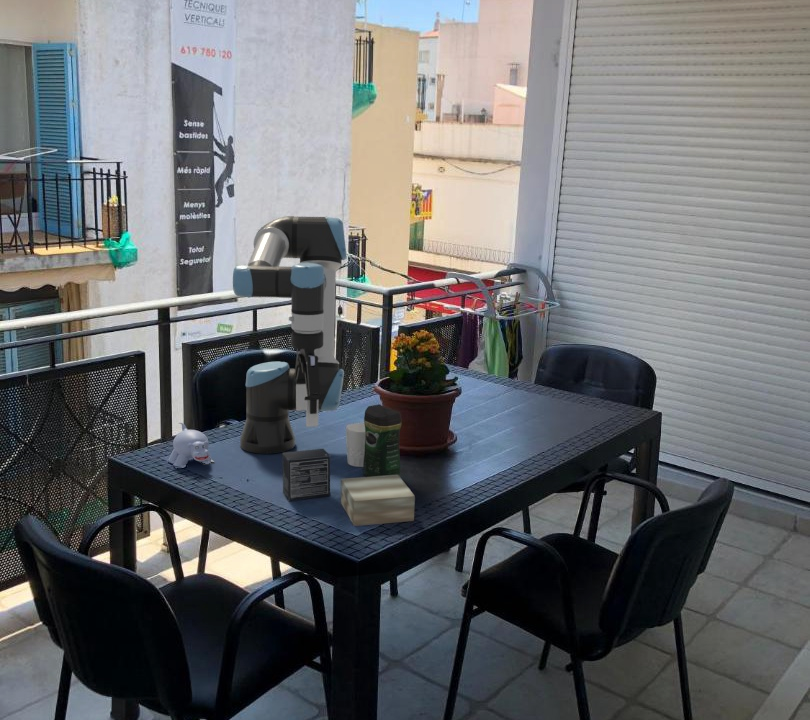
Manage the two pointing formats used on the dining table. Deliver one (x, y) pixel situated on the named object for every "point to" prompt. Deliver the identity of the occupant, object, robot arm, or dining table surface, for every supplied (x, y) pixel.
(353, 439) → the white cup
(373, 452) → the coffee jar
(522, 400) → the dining table surface
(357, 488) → the plinth
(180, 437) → the hippopotamus toy
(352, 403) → the dining table surface
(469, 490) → the dining table surface
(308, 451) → the small box
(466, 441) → the dining table surface
